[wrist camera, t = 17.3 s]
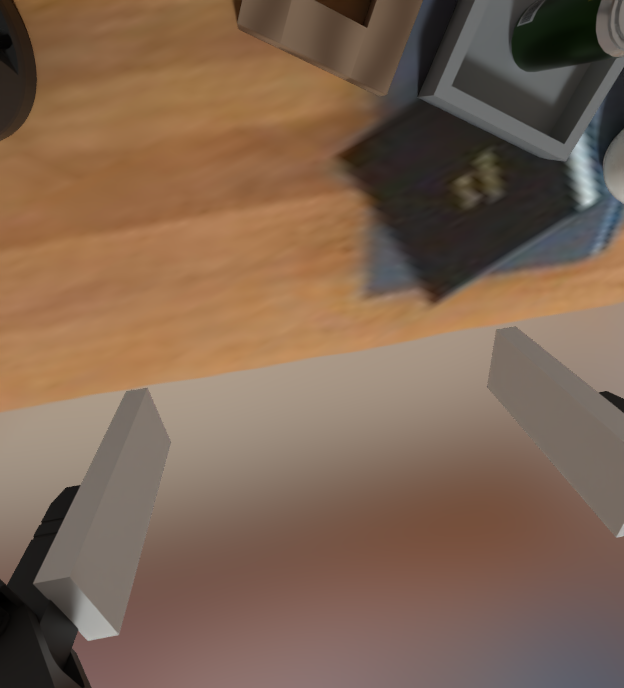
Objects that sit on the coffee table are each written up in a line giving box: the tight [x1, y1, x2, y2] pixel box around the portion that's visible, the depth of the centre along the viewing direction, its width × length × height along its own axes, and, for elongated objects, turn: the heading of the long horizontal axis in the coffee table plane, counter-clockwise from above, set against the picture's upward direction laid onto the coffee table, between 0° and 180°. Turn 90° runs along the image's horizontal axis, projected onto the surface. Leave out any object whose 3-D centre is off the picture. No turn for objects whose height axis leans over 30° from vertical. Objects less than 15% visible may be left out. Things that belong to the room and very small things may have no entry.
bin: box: [418, 0, 624, 161], centre depth 34 cm, size 16×16×4 cm
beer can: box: [510, 0, 624, 72], centre depth 30 cm, size 5×5×12 cm
